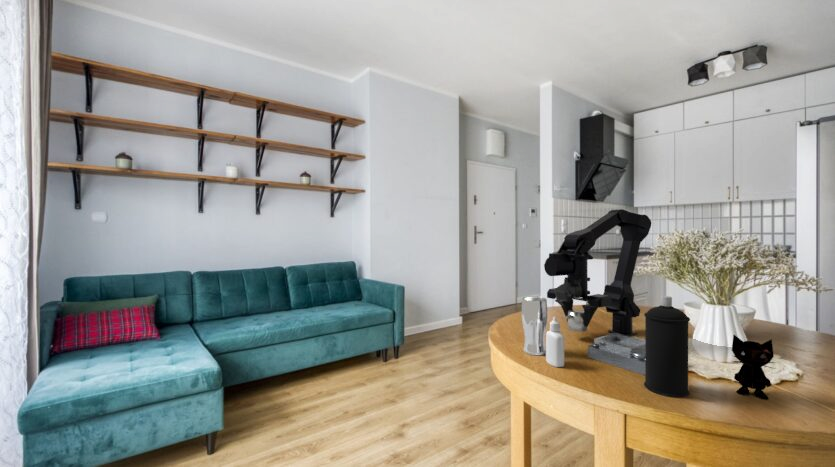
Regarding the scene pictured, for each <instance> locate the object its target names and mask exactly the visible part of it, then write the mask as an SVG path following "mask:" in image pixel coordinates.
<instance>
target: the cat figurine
mask: <svg viewBox="0 0 835 467" xmlns="http://www.w3.org/2000/svg"><path fill="white" fill-rule="evenodd" d="M731 346H732V347H731V351H732V354H733V357H734V358H736V359H737V361H736V360H732V362H734V363H742V365H741V367H740V369H739V370H738V372H736V373H734V376H733V378H734V380H735V381H736V382H738V383H739V385H740V387H739V388H738V389H737V390H736V391H735V393H736V394H738V395H740V396H750V394H751V392H750V389H751V390H754V391H753V393H752V394H753V396H755V398H758V399H760V400H764V401H765V400H766V401H767V400H769V399H770V398H769V397H768V396H767V394H766V392H764V390H765V389H766V388H769V387H771V386H772V384H771V380H770V379H769V378H768V377H766V376H767V375H766V374H765V372H764V370H763V367H766V368H769V369H773V367H771V366H767V364H773V363H776V361H772V360H773V358H774V357H775V356H774V348H773V347H774V346H773V339H770V340H767V341H765V342H763V343H759V342H758V341H753V340H745V341H743V340H742V339H741V338H740V337H738V336H737V335H735V334H733V338H732V345H731ZM771 361H772V362H771ZM774 369H775V370H776V368H774Z"/></svg>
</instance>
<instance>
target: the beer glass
mask: <svg viewBox="0 0 835 467" xmlns="http://www.w3.org/2000/svg"><path fill="white" fill-rule="evenodd" d="M521 299H522V301H521V323H522V327H523V334H524V344H523V353H525V354H527V355H529V356H530V355H531V356H543V355H546V342H545V339H546V332H547V331H546V330H547V325H548V302H547V301H548V300H547V299H548V298H547V297H546V298H545V297H541V296H524V297H522V298H521Z"/></svg>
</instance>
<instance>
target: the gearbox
mask: <svg viewBox="0 0 835 467" xmlns="http://www.w3.org/2000/svg"><path fill="white" fill-rule="evenodd" d="M587 358H589V359H592V360H595V361H598V362H601V363H605V364H607V365H611V366H614V367H618V368H620V369H624V370H627V371H631V372H634V373H637V374H641V375H643V376H645V339H643V338H639V337H634V336H632V335H630V336H626V335H622V334H618V333H609V334H606V335H603V336H598V337H595V338H594V339H593V343H592V344H591V345H587Z"/></svg>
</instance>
